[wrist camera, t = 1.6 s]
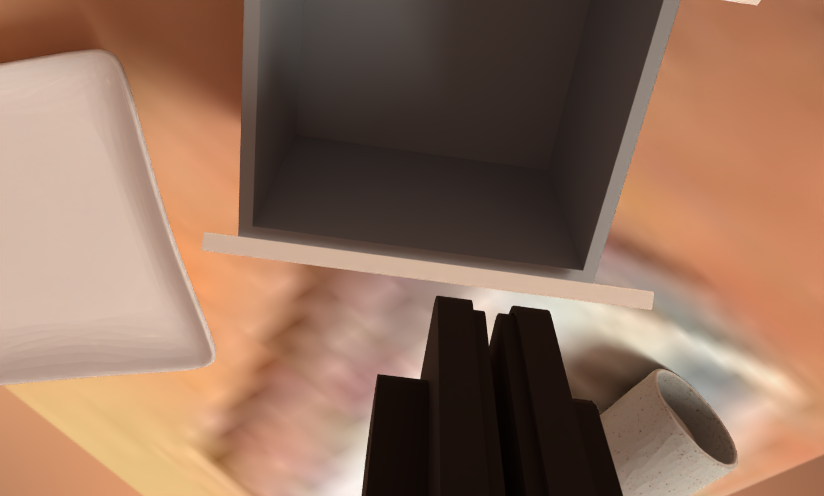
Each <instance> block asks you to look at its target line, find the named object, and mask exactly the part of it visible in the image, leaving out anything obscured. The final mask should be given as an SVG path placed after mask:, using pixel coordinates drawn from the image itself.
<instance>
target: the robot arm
mask: <svg viewBox="0 0 824 496" xmlns="http://www.w3.org/2000/svg"><path fill="white" fill-rule="evenodd" d="M362 496H623V493H622V490H621V486H620V483H619V480H618V476H617V473H616V469H615V466H614V462H613V459H612V456H611V452H610V449H609V445H608V442H607V439H606V435H605V432H604V428H603V425H602V422H601V418H600V415H599V412H598V409H597V407H596V405H595V404H594V403H593V402H592V401H588V400H580V399H572V396H571V392H570V388H569V385H568V381H567V377H566V373H565V369H564V365H563V361H562V357H561V353H560V349H559V345H558V341H557V337H556V333H555V329H554V325H553V321H552V317H551V314H550V311H548V310H543V309H535V308H528V307H520V306H512V307H511V310H510V312H509V314H502V313H498V315H497V317H496V320H495V324H494V328H493V332H492V336H491V341H490V345H489V343H488V334H487V325H486V316H485V312H484V311H478V310H473V303H472V300H466V299H459V298H451V297H443V296H436V299H435V303H434V307H433V313H432V318H431V324H430V329H429V334H428V340H427V345H426V351H425V356H424V362H423V367H422V372H421V378H420V379H412V378H404V377H396V376H388V375H380V374H378V375H377V381H376V387H375V394H374V401H373V407H372V414H371V421H370V429H369V437H368V444H367V452H366V461H365V470H364V479H363V488H362Z"/></svg>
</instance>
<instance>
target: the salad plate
mask: <svg viewBox="0 0 824 496" xmlns="http://www.w3.org/2000/svg"><path fill="white" fill-rule="evenodd" d="M215 358H216V348H215V344H214V341H213V338H212V335H211V332H210V330H209V327H208V324H207V322H206V319H205V317H204V314H203V311H202V309H201V306H200V304H199V301H198V299H197V297H196V294H195V292H194V289H193V287H192V284H191V282H190V279H189V276H188V274H187V271H186V268H185V266H184V263H183V261H182V258H181V255H180V253H179V250H178V247H177V244H176V241H175V239H174V236H173V233H172V230H171V227H170V224H169V221H168V218H167V214H166V211H165V208H164V205H163V202H162V198H161V195H160V192H159V188H158V185H157V182H156V178H155V175H154V171H153V168H152V164H151V160H150V157H149V153H148V150H147V146H146V142H145V139H144V135H143V131H142V128H141V124H140V121H139V117H138V113H137V110H136V106H135V103H134V99H133V96H132V93H131V90H130V86H129V83H128V80H127V77H126V75H125V72H124V69H123V67H122V65H121V63H120V61H119V60H118V58H117V57H116V56H115V55H114V54H113V53H111V52H110V51H107V50H103V49H89V50H80V51H72V52H64V53H58V54H52V55H46V56H40V57H35V58H29V59H23V60H16V61H12V62H6V63H0V385H10V384H21V383H32V382H42V381H53V380H64V379H76V378H87V377H101V376H113V375H126V374H142V373H159V372H174V371H184V370H193V369H198V368H202V367H206V366H209V365H211V364H212V363H213V362H214V360H215Z"/></svg>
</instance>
